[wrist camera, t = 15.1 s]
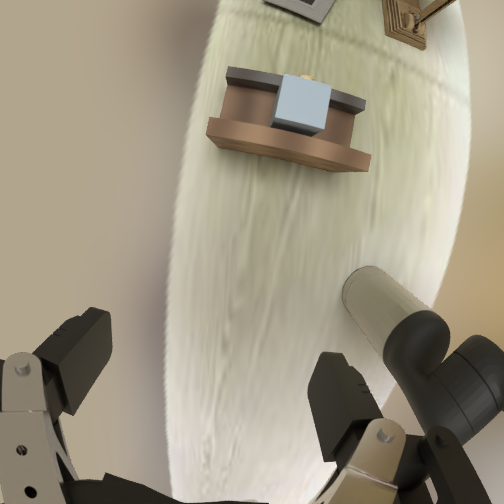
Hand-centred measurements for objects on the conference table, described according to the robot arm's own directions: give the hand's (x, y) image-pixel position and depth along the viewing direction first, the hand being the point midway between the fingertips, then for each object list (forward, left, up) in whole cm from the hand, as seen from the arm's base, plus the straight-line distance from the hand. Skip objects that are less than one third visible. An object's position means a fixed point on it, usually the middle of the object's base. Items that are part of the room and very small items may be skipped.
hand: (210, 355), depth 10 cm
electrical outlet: (-3, -43, -35) cm, 55 cm away
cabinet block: (-4, -15, -29) cm, 33 cm away
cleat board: (-4, -15, -34) cm, 37 cm away
